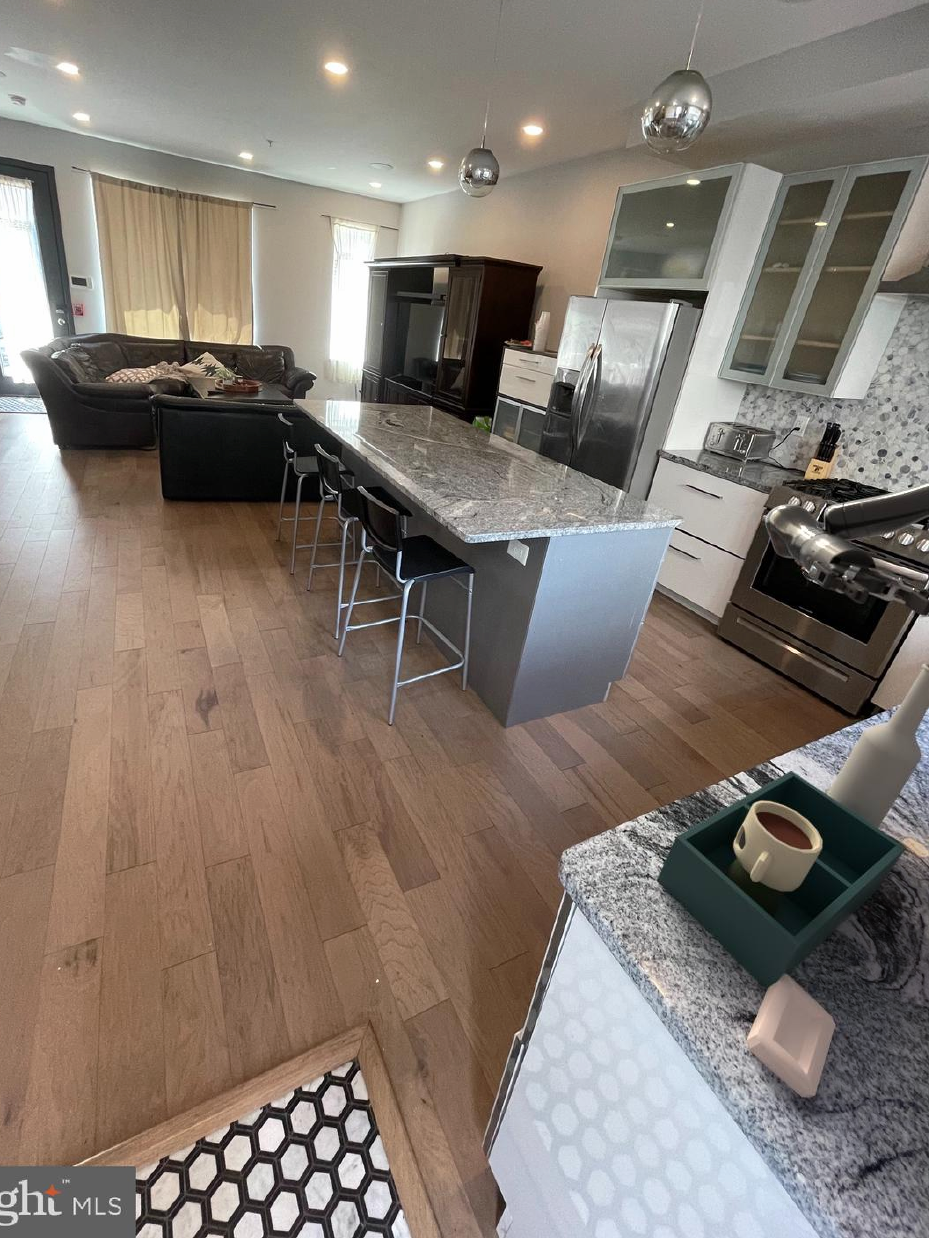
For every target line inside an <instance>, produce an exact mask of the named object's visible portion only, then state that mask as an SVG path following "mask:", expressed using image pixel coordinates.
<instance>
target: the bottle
mask: <svg viewBox="0 0 929 1238" xmlns="http://www.w3.org/2000/svg"><path fill="white" fill-rule="evenodd" d="M921 667H922V669H921V671H920V672H919V673H918V676H917V677H916V679H915V681H914V683H912V686H911V688H910V689H909V691H908V692H907V694H906V695H905V697H904V699H903V700H902V701H901V703H900V704H899V706H898V707H897V709H896V711H895V712H894V713H893V714H892V716H891V717H890V718H889V720H888V721H887V722H883V723H879V724H874V725H871V726H869V727H867V728H865V729H864V730H863V732H862V733H861V735H860V737H859V738H858V740H857V742H856V744H855V745H854V746H853V748H852V750H851V752H850V753H849V755H848V757H847V759H846V761H845V762H844V764H843V766H842V767H841V769H840V770H839V773H838V774H837V776H836V778H835V779H834V781H833V782H832V784H831V786H830V787H829V789H828V791H827V793H826V794H827V795H828V796H830V797H831V798H833V799H834V800H835V801H837V802H838V803H840V804H841V805H843V806H844V807H846V808H847V809H849V810H850V811H852V812H853V813H855V814H856V815H858V816H859V817H861V818H862V819H864V820H865V821H867V822H868V823H869V824H871V825H872V826H874V827H875V828H877V829H878V830H879V828H880V826H881V824H882V823H883V821H884V820H885V818H886V817H887V815H888V813H889V812H890V810H891V808H892V807H893V805H894V803H895V802H896V800H897V799H898V797H899V795H900V794H901V792H902V790H903V789H904V787H905V786H906V784H907V783H908V781H909V779H910V777H911V776H912V775H913V773H914V771H915V769H916V768H917V766H918V765H919V763H920V762H921V759H922V750H921V748H920V744H919V742H918V740H917V737H916V733H917V732H918V730H919V727H920V725H921V724H922V721H923V719H924V717H925V715H926V713H927V711H928V710H929V662H925V663H922V665H921Z"/></svg>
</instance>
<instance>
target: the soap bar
mask: <svg viewBox="0 0 929 1238" xmlns="http://www.w3.org/2000/svg"><path fill="white" fill-rule="evenodd" d="M835 1028H836V1023H835V1020H834V1018H833V1016H832V1015H831V1014H829V1012H827V1010H826V1009H825V1008H823V1007H822V1005H820V1004H819V1003H818V1001H817V1000H815V999H814V998H813V997H812V996H811V995H810V994H809V993H808V992H807V991H806V990H805V989H804V988H802V986H801V985H800V984H798V983H797V981H796V980H794V979H793V978H792V977H791V975H790V974H789V975H788V974H784V975H783V976H782V977H781V978H780V979H779V980H778V981H777V982H776V983H775V984H773V985H771V986H770V987H769V988H768V990H766V993H765V995H764V998H763V1000H762V1002H761V1005H760V1007H759V1009H758V1012H757V1014H756V1017H755V1019H754V1021H753V1024H752V1026H751V1028H750V1031H749V1033H748V1036H747V1038H746V1044H747V1047H748V1049H749V1050H750V1052H752V1054H753V1055H754V1056H755V1057H756V1058H757V1059H758V1060H759V1061H760V1062H761V1063H762V1064H763V1065H765V1066H766V1067H767V1068H768V1069H769V1070H770V1071H771V1072H773V1073H774V1074H775V1075H776V1076H777V1077H778V1078H779V1079H780V1080H781V1081H783V1082H784V1083H785V1084H786V1085H788V1086H789V1088H791V1089H792V1090H793V1091H794V1092H795V1093H797V1094H798V1095H799V1096H800V1097H801V1098H806V1099H811V1098H812V1097H814V1096H816V1094H817V1091H818V1087H819V1083H820V1080H821V1076H822V1073H823V1069H824V1066H825V1062H826V1059H827V1055H828V1053H829V1049H830V1045H831V1043H832V1038H833V1035H834V1032H835Z"/></svg>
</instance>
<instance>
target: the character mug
mask: <svg viewBox="0 0 929 1238" xmlns="http://www.w3.org/2000/svg"><path fill="white" fill-rule="evenodd" d="M733 848H734V852H735V854H736V856H737V858H736V860H735V861H734V862H733V863H732V864H731V866H730V867H729V868H728V869H727V871H726V872H725V873H724V875H726V876H727V877H728V878H729V879H730V880H731V881H732V882H733V883H734V884H736V885H737V886H738V887H739V888H740V889H741V890H742V891H743V892H745V893H746V894H747V895H748V896H749V897H750V898H751V899H752V900H753V901H755V902H756V903H757V904H758V905H759V906H760V907H761V908H762V909H763V910H765V911H766V912H767V913H768V914H769V915H770V916H771V917H772V918H773V919H774V918H775V916H776V913H777V911H778V909H779V906H780V903H781V900H782V897H783V894H784V891H793V890H795V889H796V888H798V887H799V886H800V885H801V883H802V882H803V880H804V878H805V877H806V875H807V873H808V872H809V870H810V868H811V867H812V865H813V863H814V862H815V860H816V858H817V857H818V855H819V853H820V851H821V849H822V839H821V837H820V835H819V833H818V831H817V830H816V829H815V827H814V826H813V825H812V824H811V823H810V822H809V821H808V820H807V819H805V818H804V817H803V816H801V815H800V814H799V813H797V812H796V811H794V810H792V809H790V808H788V807H786V806H784V805H782V804H778V803H775V802H771V801H758V802H755V803H754V804H753V805H752V807H751V809H750V811H749V813H748V815H747V817H746V819H745V821H744V822H743V824H742V826H741V828H740V830H739V831H738V834H737V836H736V838H735V840H734V845H733Z"/></svg>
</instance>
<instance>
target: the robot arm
mask: <svg viewBox="0 0 929 1238" xmlns="http://www.w3.org/2000/svg"><path fill="white" fill-rule="evenodd" d="M926 518H929V481H926V482H924V483H921V484H918V485H915V486H911V487H908V488H905V489H900V490H898V491H893V492H889V493H885V494H880V495H877V496H872V497H871V496H870V497H866V498H861V499H855V500H850V501H845V502H841V503H835V504H832V505H829V506H827V507H826V508H825V510H824V513H823V525H824V526H822V524H820V522H819V521H818V520H817V519H816V518H815V516H814V515H813V514H812V513H811V512H810V511H809V510H808V509H806V508H805V507H803V506H801V505H797V504H791V503H790V504H789V503H788V504H781V505H778V506H776V507H774V508H773V509H771V510H769V512H768V513H767V515H766V518H765V521H764V522H765V528H766V530H767V533H768V536H769V539H770V541H771V543H772V544H771V545H772V547H773V549H774V552H775V553H776V554H777V555H778V556H780V557H783V558H786V559H794V560H795V561H796V562H798V563H799V564H800V565H801V566H802V567H804V569H805V570H806V571H807V572H808V573H807V576H809V578H810V579H812V580H813V581H814V582H815V583H816V584H818V585H819V586H820V587H821V588H823V589H824V590H832V591H833V592H834V591H835V592H836V593H839V594H844V595H846V596H847V597H848V598H849V599H851V600H852V601H853V602H854V603H856V604H861V605H863V604H865V603H866V600H867V598H869V597H868V596H869V595H871V596H874V597H876V598H879V599H881V600H884V601H886V602H890V601H895V602H897V603H899V604H902V605H904V606H906V607H907V608H908V609H910V610H912V611H913V612H914V613H916V614H918V615H919V616H924V617H927V616H928V615H929V598H927V597H928V596H929V590H928V589H926V588H924V587H922V586H921V585H919V584H918V583H915V582H913V581H912V580H910V579H909V578H906V577H905V576H903V575H897V576H896V577H894V576H892V575H889V574H886V573H884V572H883V571H882V570H880V569H877V566H876V561H875V560H874V558H873V556H872V555H870V554H869V553H868V552H866V551H864V550H863V549H861V548H860V547H858V546H857V545H855V544H853V543H851V541H854V540H860V539H866V538H873V537H874V538H875V537H880V536H884V535H888V534H891V533H895V532H897V531H900V530H902V529H905V528H908V527H909V526H912V525H914V524H915V523H918V522H920V521H921V520H924V519H926ZM849 541H850V542H849ZM886 587H889V590H888V592H887V594H885V593H883V592H884V590H885V589H886Z"/></svg>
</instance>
